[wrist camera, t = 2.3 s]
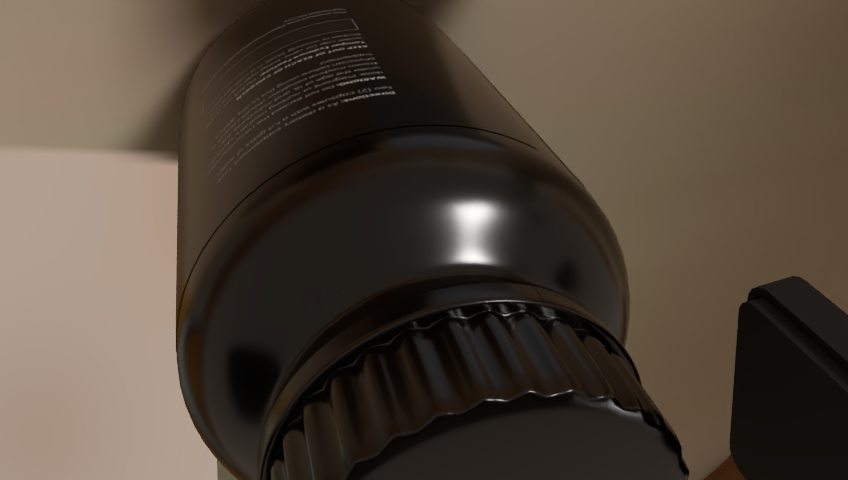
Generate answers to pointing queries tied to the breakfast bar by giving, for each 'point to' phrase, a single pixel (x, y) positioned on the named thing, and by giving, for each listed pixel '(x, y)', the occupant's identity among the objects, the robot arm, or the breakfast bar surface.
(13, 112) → the breakfast bar surface
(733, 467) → the plant
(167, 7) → the breakfast bar surface
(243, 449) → the supplement bottle
